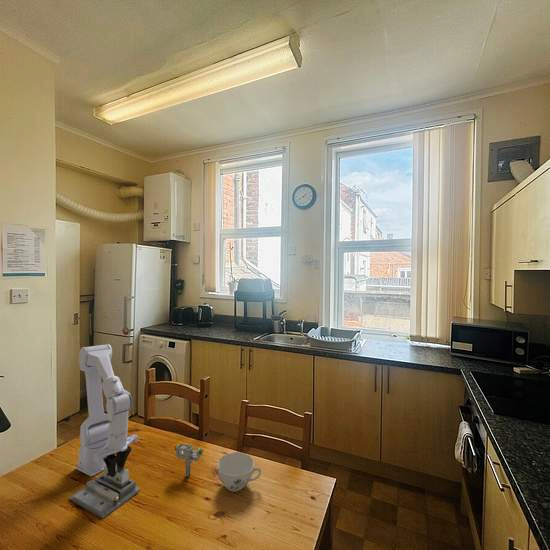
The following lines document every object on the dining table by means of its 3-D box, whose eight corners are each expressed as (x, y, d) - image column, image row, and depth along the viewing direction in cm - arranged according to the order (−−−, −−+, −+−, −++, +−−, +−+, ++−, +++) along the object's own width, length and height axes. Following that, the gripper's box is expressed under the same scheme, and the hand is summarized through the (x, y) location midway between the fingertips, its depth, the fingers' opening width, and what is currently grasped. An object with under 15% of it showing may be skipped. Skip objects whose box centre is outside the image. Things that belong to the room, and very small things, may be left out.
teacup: (212, 498, 95) (213, 473, 95) (220, 473, 107) (221, 451, 107) (258, 501, 94) (259, 476, 94) (261, 475, 107) (262, 453, 107)
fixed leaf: (69, 499, 92) (69, 488, 92) (108, 475, 103) (108, 466, 104) (102, 519, 85) (102, 507, 85) (140, 491, 97) (140, 481, 97)
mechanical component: (198, 480, 103) (200, 451, 103) (172, 475, 105) (173, 447, 105) (202, 475, 106) (204, 446, 106) (176, 470, 108) (178, 442, 108)
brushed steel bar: (103, 481, 98) (103, 465, 98) (110, 476, 100) (110, 461, 100) (121, 490, 94) (122, 474, 94) (128, 485, 96) (128, 470, 96)
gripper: (104, 445, 89) (102, 490, 89) (144, 425, 102) (142, 464, 102) (90, 439, 92) (88, 483, 92) (130, 420, 105) (128, 458, 105)
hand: (115, 473), depth 97 cm, fingers closed on brushed steel bar, 2 cm apart
